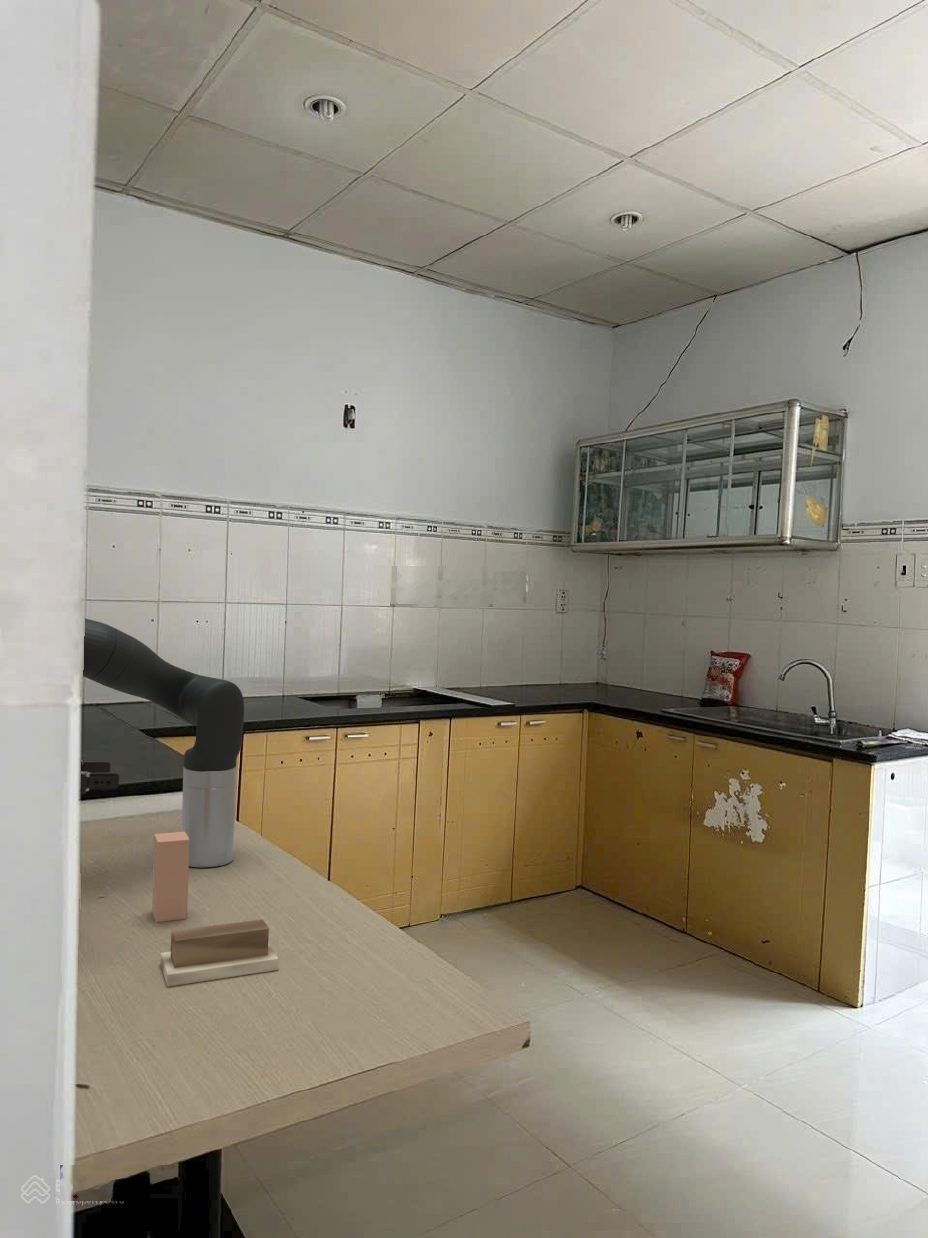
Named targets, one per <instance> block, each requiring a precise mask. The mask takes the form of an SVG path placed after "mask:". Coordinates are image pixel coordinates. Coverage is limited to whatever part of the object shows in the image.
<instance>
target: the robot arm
mask: <svg viewBox="0 0 928 1238" xmlns="http://www.w3.org/2000/svg"><path fill="white" fill-rule="evenodd" d="M82 677H83V678H86V679H88V680H91V681H93V682H96V683H98V684H100V685H102V686H105V687H107V688H109V689H113V690H115V691H117V692H121V693H124V694H126V695H130V696H133V697H136V698H137V697H139V698H141V699H145V700H147V701H149V702H152V703H154V704H156V705H158V706H160V707H161V708H163V709H165V710H166V711H169V712H170V713H172V714H173V715H175V716H177V717H178V718H180V719H181V720H184V721H185V722H186V723H188V724H190V725H192V726H194V727H196V729H195V731H196V732H195V741H194V745H193V747H190V748H188V749H186V751H185V752H184V754H183V769H182V771H183V772H182V773H183V776H182V806H181V831H180V832H185V833H186V834H187V836H188V838H189V867H192V868H215V867H216V868H217V867H221V866H224V865H227V864H229V863H231V862H233V860H234V844H235V821H236V820H235V817H236V816H235V815H236V812H235V811H236V792H237V791H236V789H237V787H236V784H237V783H236V782H237V760H238V756H239V754H240V752H241V749H242V745H243V733H244V721H245V701H244V700H245V699H244V695H243V693H242V691H241V689H240V688H239V686H238V685H237V684H236V683H234V682H232V681H229V680H226V679H221V678H216V677H210V676H204V675H201V674H197V673H194V672H190V671H188V670H186V669H184V668H182V667H179V666H175V665H174V664H171V663H169V662H168V661H166V660H164V659H163V658H161V657H160V656H159V655H158V654H157V653H156V652H155V651H154V650H152V648H150V647H149V646H148V645H146V644H144V643H143V642H142V641H140V640H138V639H137V638H135V637H134V636H132V635H129V634H128V633H126V632H124V631H122V630H120V629H119V628H118V629H117V628H116V627H113V626H111V625H110V624H106V623H104V622H101V621H97V620H94V619H89V618H85V636H84V670H83V676H82ZM80 760H81V795H85V794H86V792H89V791H90V790H117V788H119V785H120V782H119V781H120V775H119V773H118V772H115V771H114V772H112V771H111V763H110V762H109V761H106V760H105V761H104V760H103V761H102V760H101V761H98V760H97V761H96V760H92V761H91V760H90V761H87V760H84V761H83V759H80Z"/></svg>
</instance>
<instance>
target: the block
mask: <svg viewBox="0 0 928 1238" xmlns="http://www.w3.org/2000/svg"><path fill="white" fill-rule="evenodd" d="M153 834H154V835H153V837H154V838H153V863H152V864H153V865H152V868H153V871H152V899H151V900H152V902H151V913H152V916H153V919H154V922H155V923H163V922H169V921H177V920H178V921H179V920H185V919H188V900H189V899H188V898H189V897H188V896H189V895H188V894H189V867H190V866H189V838H188V836H187V834H186V833H185V832H181V831H176V832H165V833H164V832H163V833H153Z"/></svg>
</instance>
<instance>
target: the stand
mask: <svg viewBox="0 0 928 1238" xmlns="http://www.w3.org/2000/svg"><path fill="white" fill-rule="evenodd" d="M269 934H270V928H269V926H268V925H267V924H266V922H265V921H264V919H263V918H262V919H253V920H246V921H239V922H231V923H221V924H214V925H206V926H200V927H199V926H198V927H197V926H196V927H190V928H183V929H175V930H171V931H170V951H164V952H160V967H161V971H162V973H163V977H164V979H165V983H166V987H175V986H179V985H180V986H181V985H188V984H193V983H194V984H195V983H200V982H201V983H202V982H207V981H212V980H213V981H214V980H221V979H226V978H232V977H239V976H241V977H242V976H247V975H253V974H260V973H265V972H273V971H278V970H279V962H280V961H279V957H278V955H277V954H276V951H274V949H273V947H272V945H271V944H270V942H269V936H270V935H269Z"/></svg>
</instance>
